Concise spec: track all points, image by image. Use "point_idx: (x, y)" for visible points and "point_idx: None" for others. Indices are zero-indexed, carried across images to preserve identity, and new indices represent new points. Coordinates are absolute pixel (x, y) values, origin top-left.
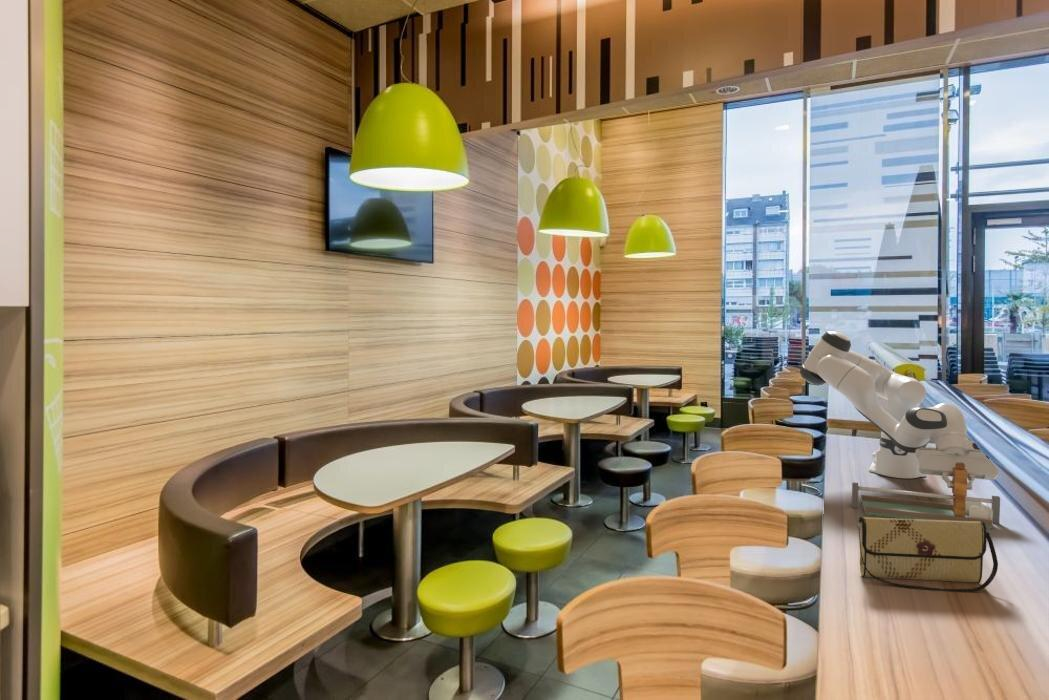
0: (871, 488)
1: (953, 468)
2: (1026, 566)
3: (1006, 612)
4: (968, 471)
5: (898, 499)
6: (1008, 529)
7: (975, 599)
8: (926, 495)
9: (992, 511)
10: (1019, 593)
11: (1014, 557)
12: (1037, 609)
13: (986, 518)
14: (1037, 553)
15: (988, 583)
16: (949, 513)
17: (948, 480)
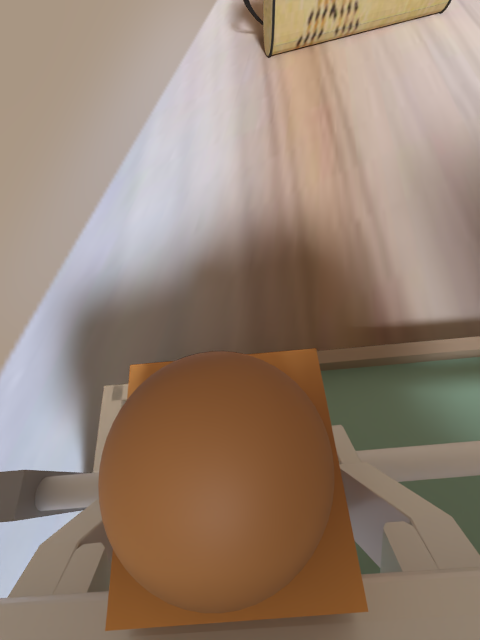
0: None
1: (344, 514)
2: (160, 139)
3: (246, 11)
4: (66, 608)
5: None
6: (81, 408)
7: None
8: (459, 442)
9: (106, 387)
10: (213, 52)
11: (166, 171)
12: (204, 28)
13: None
14: (97, 216)
15: (257, 19)
16: None
17: (356, 458)
